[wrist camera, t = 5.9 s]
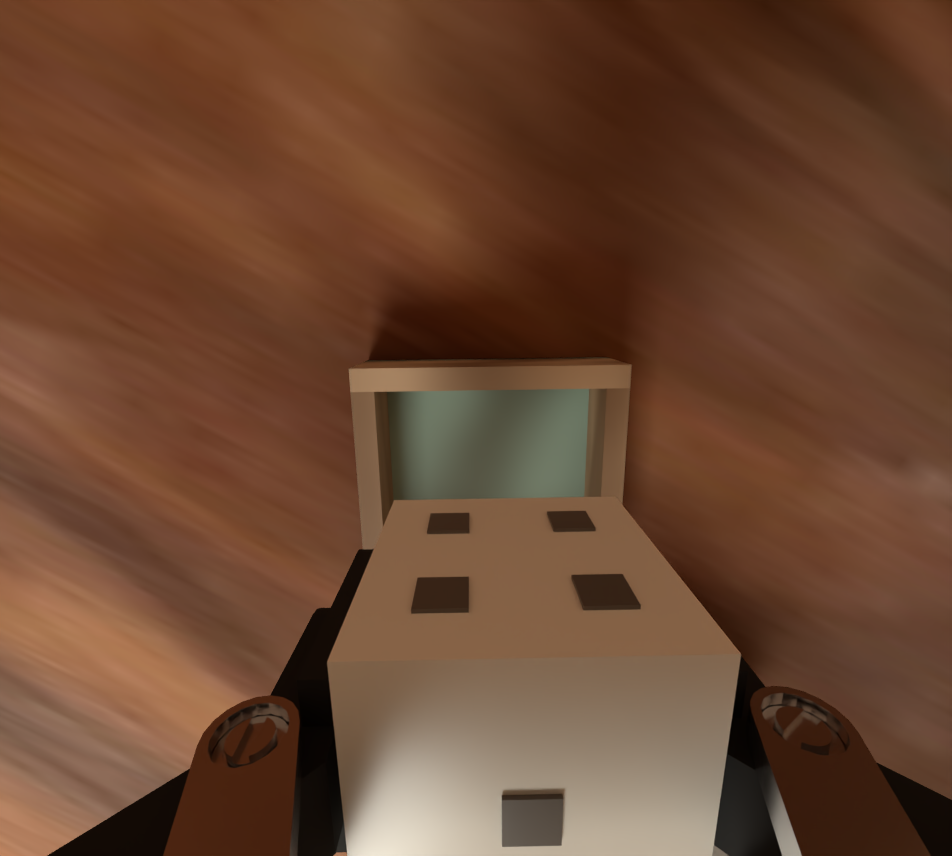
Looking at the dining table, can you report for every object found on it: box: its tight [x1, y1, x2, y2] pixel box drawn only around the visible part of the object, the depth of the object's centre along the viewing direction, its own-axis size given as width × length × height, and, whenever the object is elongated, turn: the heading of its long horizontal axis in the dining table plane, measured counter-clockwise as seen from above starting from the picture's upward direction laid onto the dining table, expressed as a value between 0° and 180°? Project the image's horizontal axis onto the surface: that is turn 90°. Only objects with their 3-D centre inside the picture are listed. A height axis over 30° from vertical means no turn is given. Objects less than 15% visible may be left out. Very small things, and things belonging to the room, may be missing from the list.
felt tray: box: [349, 357, 632, 549], centre depth 18 cm, size 10×10×3 cm
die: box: [327, 497, 741, 856], centre depth 9 cm, size 5×5×5 cm
